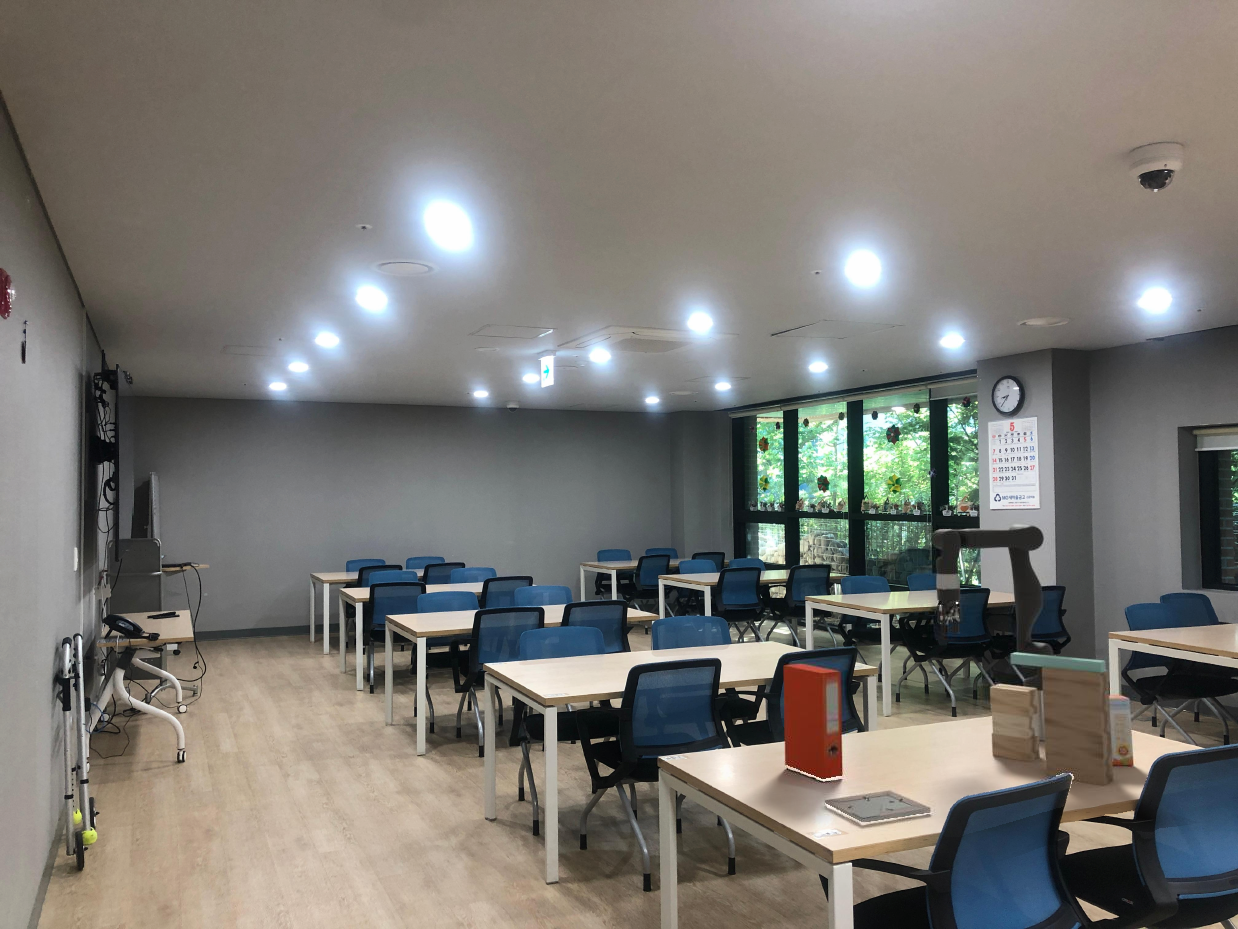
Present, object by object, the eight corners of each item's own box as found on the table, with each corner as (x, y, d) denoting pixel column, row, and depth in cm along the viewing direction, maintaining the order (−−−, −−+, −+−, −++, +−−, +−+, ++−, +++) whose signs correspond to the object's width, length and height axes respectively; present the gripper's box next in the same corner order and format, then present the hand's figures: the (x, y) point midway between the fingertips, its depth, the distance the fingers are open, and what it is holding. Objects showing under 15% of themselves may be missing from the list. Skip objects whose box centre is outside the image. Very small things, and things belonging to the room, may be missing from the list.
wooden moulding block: (1055, 769, 271) (1051, 664, 273) (1113, 780, 260) (1107, 670, 262) (1046, 775, 266) (1041, 667, 268) (1104, 786, 254) (1099, 673, 257)
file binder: (805, 765, 279) (802, 663, 281) (843, 779, 264) (840, 671, 266) (785, 769, 275) (782, 665, 278) (822, 783, 260) (820, 673, 262)
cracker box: (1125, 761, 280) (1121, 694, 281) (1134, 766, 274) (1130, 698, 275) (1079, 760, 281) (1076, 694, 283) (1087, 765, 275) (1084, 697, 277)
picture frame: (862, 828, 224) (930, 816, 232) (862, 817, 224) (930, 806, 232) (824, 808, 239) (889, 798, 247) (824, 799, 239) (889, 789, 247)
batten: (1015, 662, 279) (1015, 652, 279) (1105, 671, 261) (1105, 660, 261) (1010, 663, 276) (1010, 653, 276) (1101, 672, 258) (1101, 662, 258)
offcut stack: (1002, 750, 295) (999, 683, 296) (1039, 757, 286) (1036, 688, 288) (992, 755, 289) (989, 687, 290) (1030, 762, 280) (1027, 691, 282)
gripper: (946, 585, 313) (948, 631, 312) (928, 588, 303) (930, 635, 302) (967, 586, 308) (969, 632, 307) (949, 588, 298) (952, 637, 296)
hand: (950, 634), depth 304 cm, fingers open, 8 cm apart
